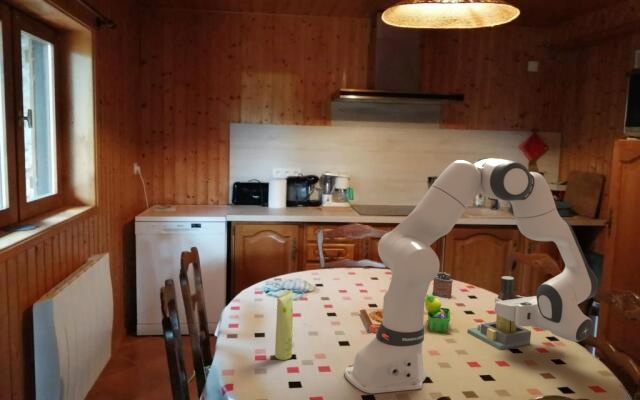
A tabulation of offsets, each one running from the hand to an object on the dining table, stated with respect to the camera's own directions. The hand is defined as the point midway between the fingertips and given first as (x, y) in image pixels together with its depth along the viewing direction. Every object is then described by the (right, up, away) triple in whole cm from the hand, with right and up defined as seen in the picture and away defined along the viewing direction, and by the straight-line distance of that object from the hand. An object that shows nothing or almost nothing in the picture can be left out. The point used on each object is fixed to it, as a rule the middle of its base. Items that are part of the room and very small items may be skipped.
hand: (506, 299), depth 175 cm
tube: (-72, -14, -18) cm, 75 cm away
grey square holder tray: (-2, -13, +2) cm, 14 cm away
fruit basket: (-21, -12, +11) cm, 26 cm away
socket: (-1, -12, +1) cm, 12 cm away
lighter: (-11, -7, +45) cm, 47 cm away
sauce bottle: (0, -13, +1) cm, 13 cm away
